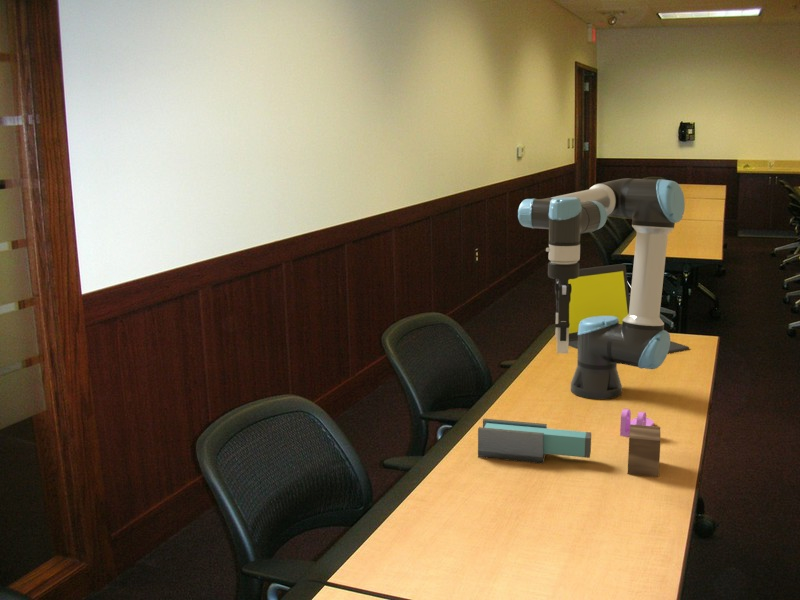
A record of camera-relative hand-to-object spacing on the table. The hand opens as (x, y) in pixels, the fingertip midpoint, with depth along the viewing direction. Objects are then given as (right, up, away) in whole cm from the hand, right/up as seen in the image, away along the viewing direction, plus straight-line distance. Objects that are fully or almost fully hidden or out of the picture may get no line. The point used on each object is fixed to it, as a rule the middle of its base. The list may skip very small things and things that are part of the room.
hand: (561, 345), depth 207 cm
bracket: (+24, -24, +16) cm, 37 cm away
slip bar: (-6, -26, -1) cm, 27 cm away
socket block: (+18, -29, -8) cm, 35 cm away
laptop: (+40, -6, +97) cm, 105 cm away
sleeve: (-12, -27, +1) cm, 30 cm away
